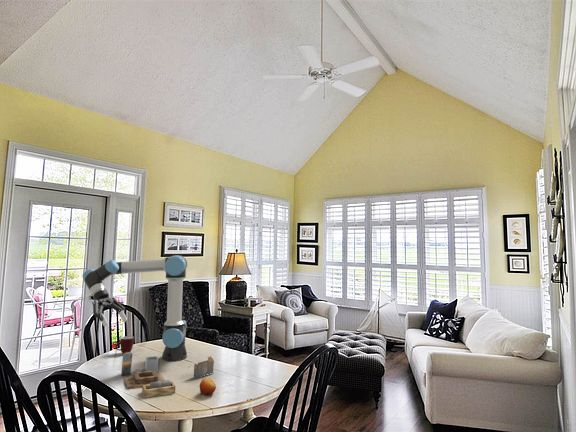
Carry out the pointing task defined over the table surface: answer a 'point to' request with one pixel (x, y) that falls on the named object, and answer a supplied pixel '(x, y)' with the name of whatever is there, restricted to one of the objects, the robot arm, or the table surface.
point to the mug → (126, 344)
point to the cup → (151, 363)
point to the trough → (158, 388)
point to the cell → (126, 364)
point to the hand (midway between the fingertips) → (116, 323)
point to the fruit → (207, 386)
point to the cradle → (142, 379)
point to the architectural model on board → (204, 367)
